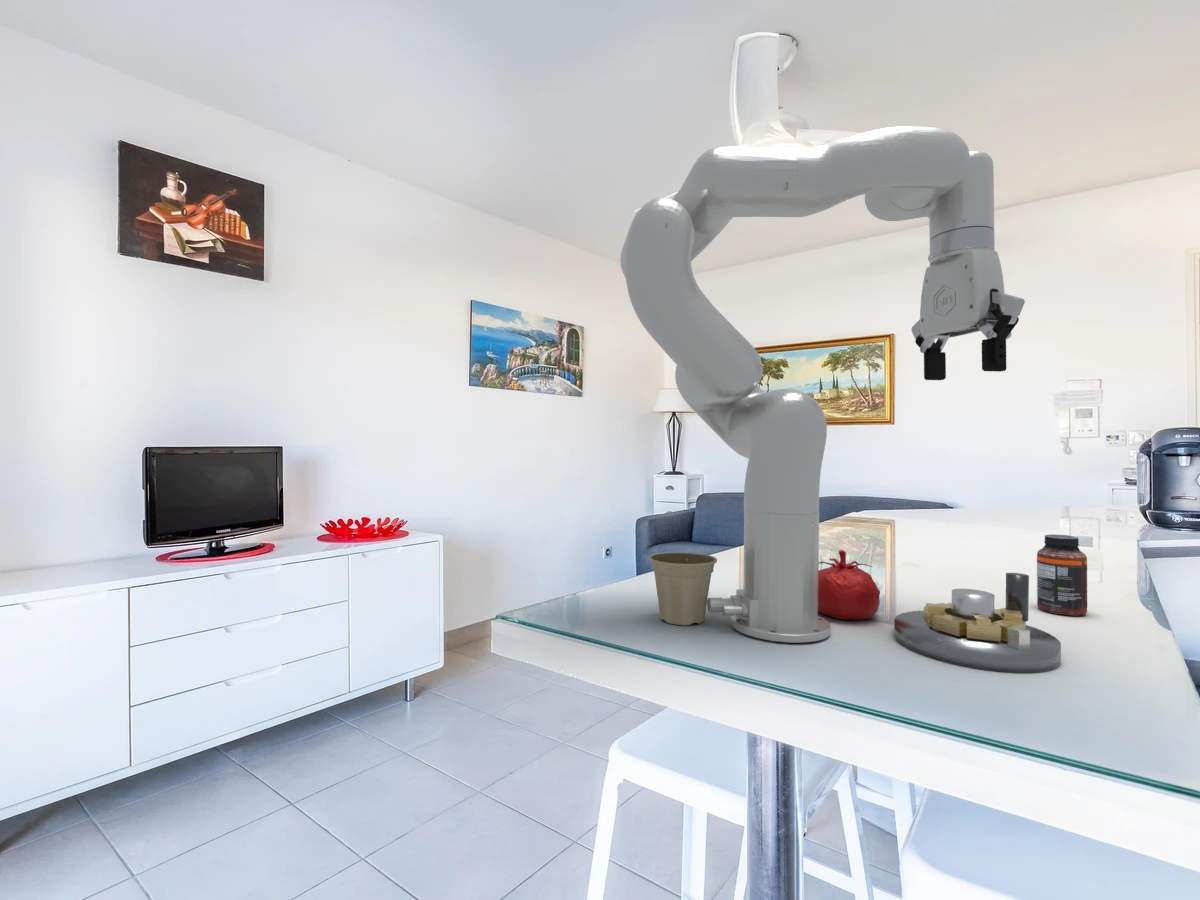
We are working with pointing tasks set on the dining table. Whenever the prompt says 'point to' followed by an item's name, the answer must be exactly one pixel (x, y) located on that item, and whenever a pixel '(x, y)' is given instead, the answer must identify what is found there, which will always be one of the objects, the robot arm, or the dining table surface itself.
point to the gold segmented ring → (982, 625)
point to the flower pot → (682, 585)
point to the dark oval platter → (1015, 655)
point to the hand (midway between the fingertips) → (962, 375)
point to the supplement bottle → (1062, 576)
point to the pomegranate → (847, 591)
